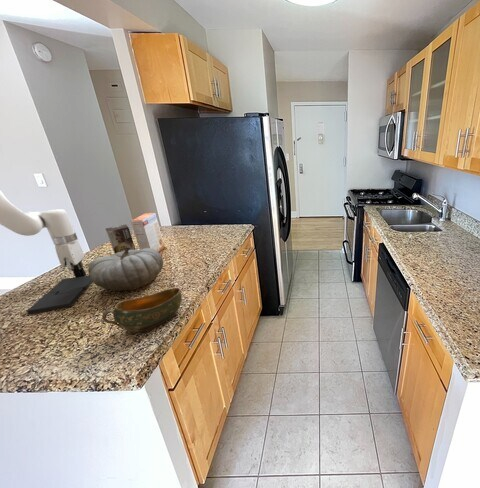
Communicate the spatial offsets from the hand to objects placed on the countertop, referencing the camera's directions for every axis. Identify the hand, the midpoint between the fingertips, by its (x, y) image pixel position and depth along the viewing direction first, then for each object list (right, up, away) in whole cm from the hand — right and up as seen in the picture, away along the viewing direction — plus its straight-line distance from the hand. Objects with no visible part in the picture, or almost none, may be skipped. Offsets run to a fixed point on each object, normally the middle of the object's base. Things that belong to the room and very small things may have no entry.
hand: (81, 276), depth 117 cm
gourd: (+26, -3, -4) cm, 27 cm away
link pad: (+3, -4, -7) cm, 9 cm away
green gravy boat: (+50, -12, -28) cm, 59 cm away
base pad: (+7, -8, -17) cm, 20 cm away
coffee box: (+3, +8, +23) cm, 24 cm away
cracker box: (+15, +10, +26) cm, 32 cm away
